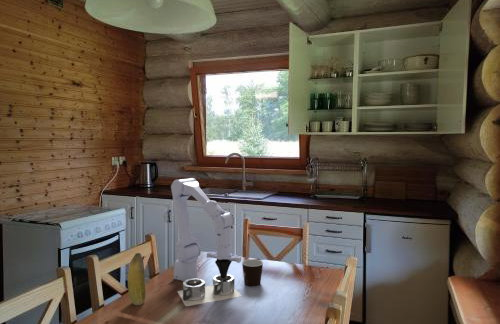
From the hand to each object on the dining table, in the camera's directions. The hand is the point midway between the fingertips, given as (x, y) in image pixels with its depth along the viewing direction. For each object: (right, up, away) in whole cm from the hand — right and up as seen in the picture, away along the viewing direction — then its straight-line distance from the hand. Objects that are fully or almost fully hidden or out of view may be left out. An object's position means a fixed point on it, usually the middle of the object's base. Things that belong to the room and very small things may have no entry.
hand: (223, 277), depth 150 cm
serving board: (-6, -7, -2) cm, 9 cm away
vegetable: (-31, -8, -10) cm, 34 cm away
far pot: (-1, -6, -1) cm, 6 cm away
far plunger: (0, -4, 0) cm, 4 cm away
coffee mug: (+12, -6, +9) cm, 16 cm away
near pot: (-12, -6, -5) cm, 14 cm away
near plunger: (-11, -5, -4) cm, 13 cm away
